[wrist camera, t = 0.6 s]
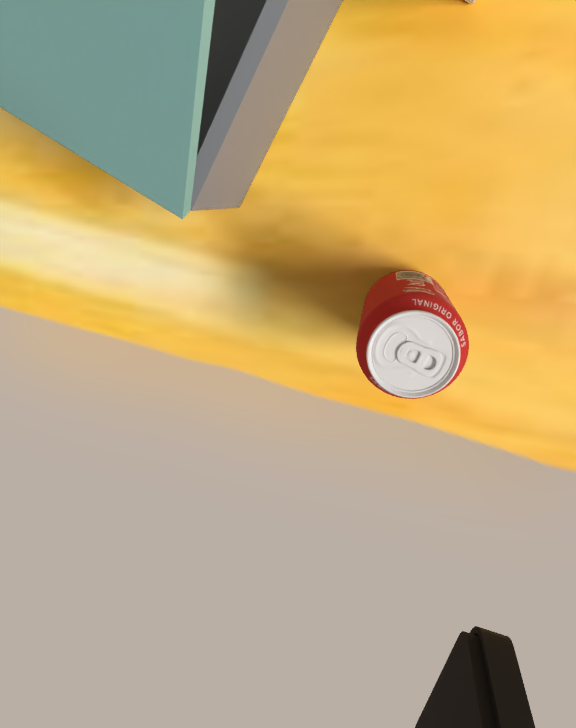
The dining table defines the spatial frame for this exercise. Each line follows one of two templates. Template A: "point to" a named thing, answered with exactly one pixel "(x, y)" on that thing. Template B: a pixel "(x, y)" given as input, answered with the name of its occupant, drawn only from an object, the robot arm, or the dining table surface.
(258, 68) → the box
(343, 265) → the dining table surface
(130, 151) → the lid
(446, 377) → the beverage can
